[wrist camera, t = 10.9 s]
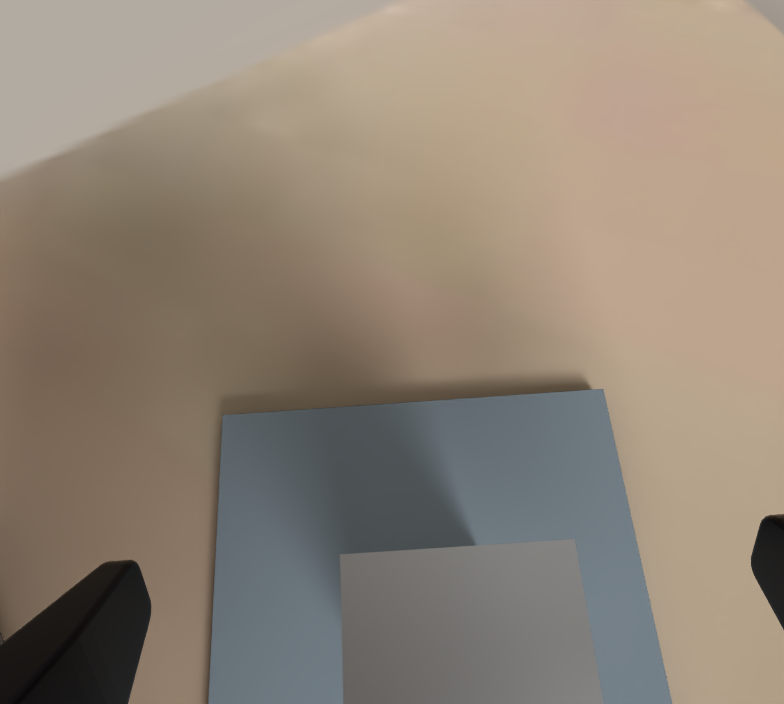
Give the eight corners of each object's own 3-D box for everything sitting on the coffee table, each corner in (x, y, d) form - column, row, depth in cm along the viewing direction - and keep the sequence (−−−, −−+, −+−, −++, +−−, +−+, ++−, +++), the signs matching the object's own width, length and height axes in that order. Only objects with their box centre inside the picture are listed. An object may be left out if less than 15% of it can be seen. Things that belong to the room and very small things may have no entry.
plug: (493, 671, 14) (626, 835, 6) (379, 679, 14) (347, 853, 6) (479, 550, 15) (574, 539, 7) (374, 557, 15) (339, 554, 7)
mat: (697, 864, 13) (710, 877, 13) (206, 901, 13) (197, 916, 12) (596, 394, 17) (603, 389, 17) (228, 419, 17) (222, 415, 17)
